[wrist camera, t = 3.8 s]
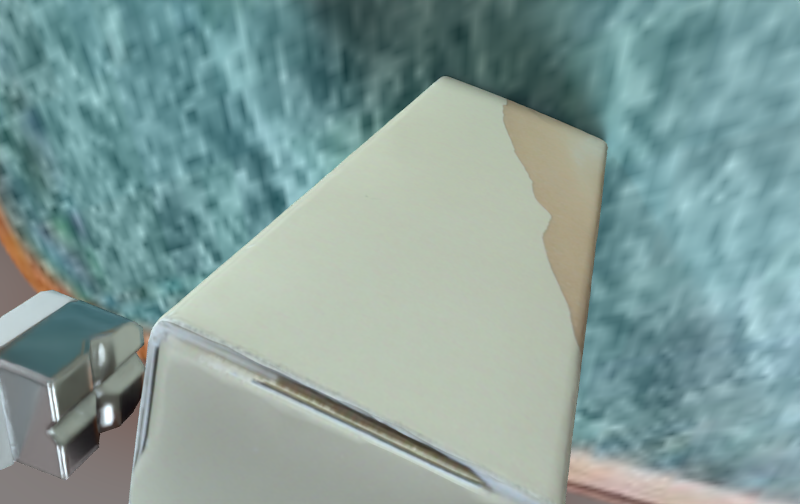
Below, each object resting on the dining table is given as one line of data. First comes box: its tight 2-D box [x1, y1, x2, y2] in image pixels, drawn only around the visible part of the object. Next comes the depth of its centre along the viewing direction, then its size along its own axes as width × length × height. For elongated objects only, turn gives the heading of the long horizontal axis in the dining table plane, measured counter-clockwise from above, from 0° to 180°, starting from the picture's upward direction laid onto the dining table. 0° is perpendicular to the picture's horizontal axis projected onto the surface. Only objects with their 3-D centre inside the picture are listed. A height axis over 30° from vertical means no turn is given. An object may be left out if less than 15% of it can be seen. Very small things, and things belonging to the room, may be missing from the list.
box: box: [129, 76, 608, 504], centre depth 12 cm, size 5×4×11 cm
